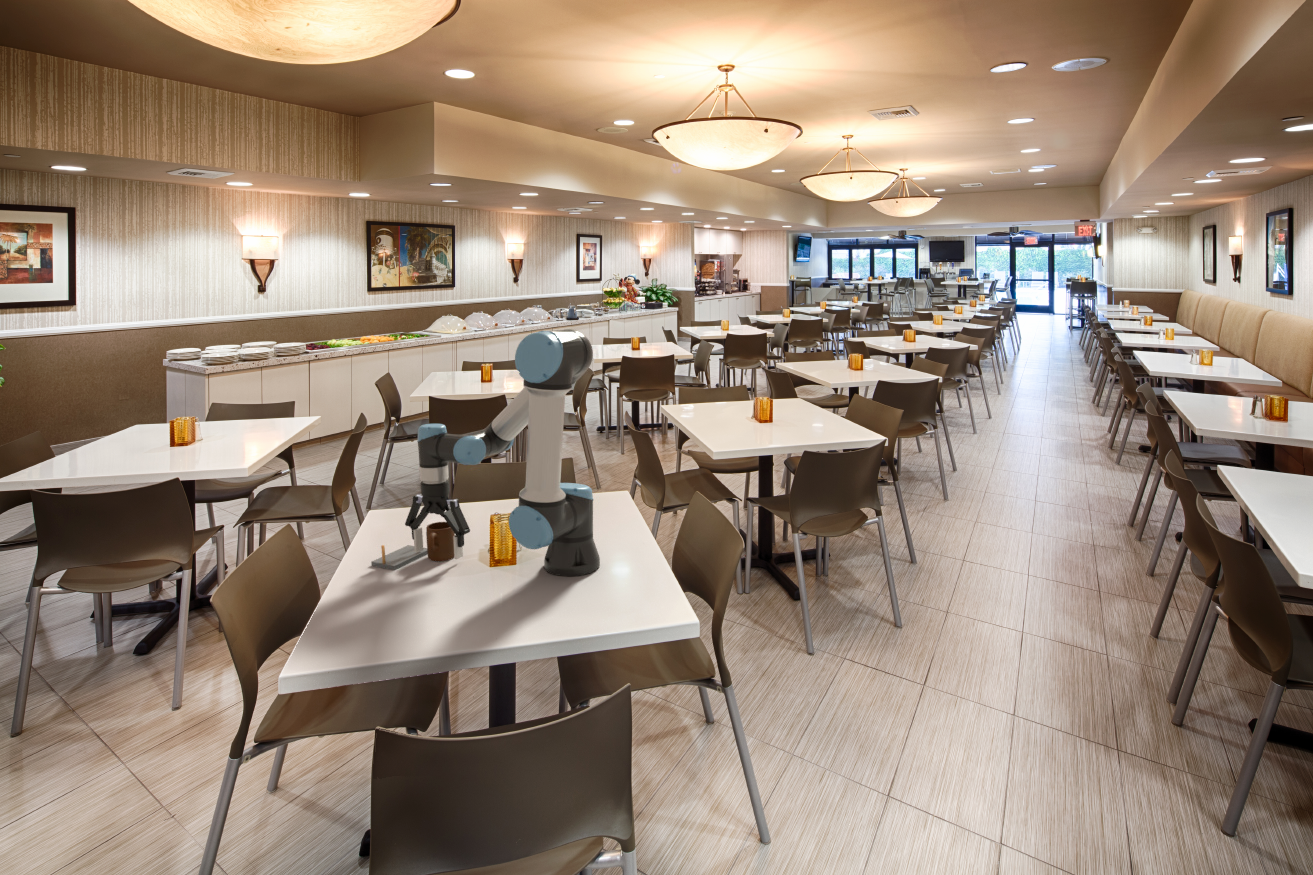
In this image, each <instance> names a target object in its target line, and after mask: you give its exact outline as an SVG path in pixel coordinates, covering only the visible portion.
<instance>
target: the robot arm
mask: <svg viewBox="0 0 1313 875" xmlns="http://www.w3.org/2000/svg"><path fill="white" fill-rule="evenodd" d="M593 357H594V350H593V346H592V343H591V342H590V339H589V338H588V337H587V336H586V335H584V333H582V332H581V331H578V330H576V329H560V330H559V329H557V330H540V331H538V332H533V333H529V334H528V335H526V336H525V337H524V338H522V339H521V341H520V342H519V343H518V346H517V347H516V350H515V354H514V363H515V369H516V370H517V371H518V373H519V376H520V377H521V378H522V379H523V388H522V389H521V391H519V393H518V394H517V395H515V397H514V398H513V399H512V400H511V401H510V402H509V403H508V404H507V405H506V407H504V408H503V410H502V411H500V412H499V414H498V415H496V417H495V418H494V419H493V420H492V421H491V422H490V423H489V424H488V425H487V426H486V427H485V428H484V429H479V430H476V431H471V432H467V433H463V434H455V433H454V434H452V433H448V431H447V427H446V425H445V424H443V423H426V424H422V425H420V426H418V429H417V440H416V441H417V448H418V461H419V463H418V465H419V481H421V482H420V485H419V486H420V493H418V494H416V495H413V496H412V504H411V506H410V510H409V512H408V515H407V518H406V520H405V523H404V525H405V526H406V527H409V528H410V529H411V538H412V540H413V543H414V545H413V546H414V548H415V552H419V551H421V550H423V548H424V539H423V537H424V535H423V527H421V526H422V523H423V522H424V520H425V519H426V517H427V516H428V515H429V514H431V515H432V514H435V515H440V517H441V518H443V519H444V520H445V522H447V523H448V524H449V526H450V527H451V529H452V530H453V532H454V533H455V536H453V539H454V560H458V559H460V558H462V557H463V556H464V553H463V551H464V550H463V547H464V546H465V535H466V534H469V533H470V532H471V529H470V526H469V523H468V522H467V520H466V518H465V515H464V513H463V511H462V509H461V507H460V499H458V498H454V499H450V497H449V493H450V481H449V480H448V479H449V463H453V464H461V465H464V466H470V465H471V466H474V465H475V466H476V465H479V464H480V463H481V462H482V461H483V460H484V459H485V457H486V458H487V457H490V456H494V455H498V454H502V453H504V452H506V451H508V450H510V449H511V448H512V447H513V445H514V441H515V438H516V437H517V436H518V435H519V434H520V433H521V432H522V431H523V430H524V428H526V426H527V445H526V446H527V448H526V466H525V467H526V469H525V471H526V472H525V473H526V474H525V486H524V488H522V489H521V490H520V491H519V494H518V506H516V507H515V508H513V510H512V511H511V512H510V514H509V517H508V527H509V528H508V529H509V531H510V533H511V535H512V537H513V538H514V539H515V540H516V542H517V543H518V544H519V545H521V546H522V547H524V548H526V549H528V550H529V549H530V550H539V549H542V548H545V547H547V550H546V553H545V555H544V559H543V562H544V563H543V566H544V570H545V571H546V572H548V573H549V574H552V575H556V576H560V577H561V576H562V577H575V576H577V577H578V576H583V575H587V574H591V573H593V571H594V570H595V571H597V570H598V569H599V568H600V567H599V566H601V564H600V562H601V557H600V553H599V552H598V548H597V546H596V542H595V540H594V498H593V490H592V488H591V487H590V486H588V485H587V484H584V483H583V484H581V483H574V482H573V483H572V482H561V478H562V475H561V474H562V460H563V459H562V458H563V439H564V438H563V436H564V425H565V424H564V420H565V404H566V403H565V401H566V395H567V393H569V392H570V391H571V390H572V389H573V388H572V387H573V385H574V384H575V383H576V382H578V380H579V379H580V378H582V377H583V375H584V374H585V373H586V372H587V370H589V368H590V366H591V365H592V362H593ZM422 504H423V507H422V508H421V506H422ZM420 508H421V510H420ZM597 568H598V569H597ZM596 569H597V570H596ZM595 571H594V572H595Z"/></svg>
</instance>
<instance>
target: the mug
mask: <svg viewBox="0 0 1313 875" xmlns="http://www.w3.org/2000/svg"><path fill="white" fill-rule="evenodd" d="M425 530H426V532H425V534H426V548H427V553H428V554H427V558H428V559H429V560H430V561H431V562H439V563H440V562H447V561H449V560H452V559H453V558H454V539H453V536H455V535H456V534H455V533H454V532H453V530H452V529H451V527H450V526H449V524H448V523H447V522H446V521H437V522H432V523H429V524H428V525H426V529H425Z"/></svg>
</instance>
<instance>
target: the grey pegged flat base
mask: <svg viewBox="0 0 1313 875" xmlns="http://www.w3.org/2000/svg"><path fill="white" fill-rule="evenodd" d="M380 547H381V557H379V558H376V559H374V560H372V561H371V567H377V568H380V569H387V570H392V571H396V570H398V569H400V568H403V567H405V566H406V565H408V564H411V563H412V562H415V561H417V560H419V559H422V558H423V557H425V556H428V553H427V547H423V550H421V551H419V552H415V548H414V545H409V544H408V545H406V546H403V547H401V548H399V549H397V550H395V551H392V552H390V553H388V554H386V550H385V547H386V546H385V545H384V544H382V545H381V546H380Z"/></svg>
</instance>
